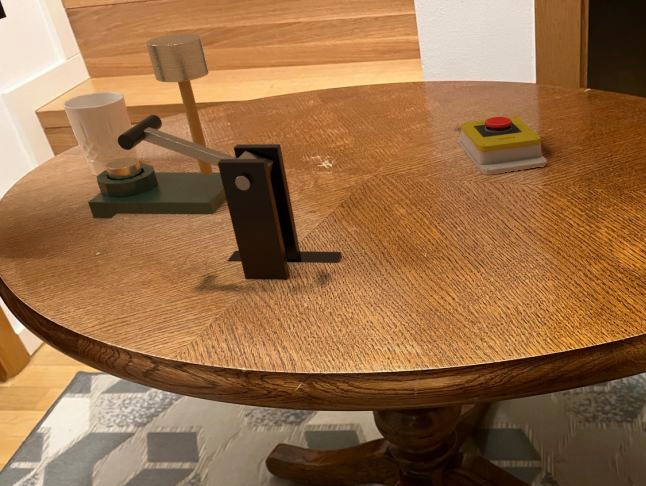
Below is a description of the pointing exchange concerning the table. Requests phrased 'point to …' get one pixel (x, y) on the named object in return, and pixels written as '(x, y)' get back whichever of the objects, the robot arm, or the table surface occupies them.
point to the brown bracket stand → (264, 214)
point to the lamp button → (123, 168)
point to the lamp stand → (182, 75)
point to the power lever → (175, 143)
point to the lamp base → (158, 193)
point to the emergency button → (501, 145)
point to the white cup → (99, 127)
